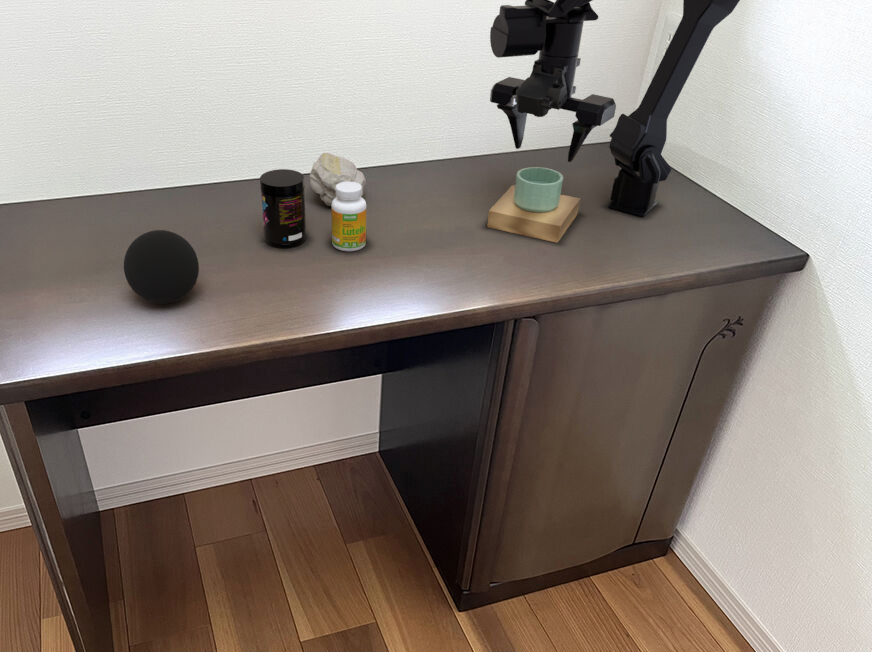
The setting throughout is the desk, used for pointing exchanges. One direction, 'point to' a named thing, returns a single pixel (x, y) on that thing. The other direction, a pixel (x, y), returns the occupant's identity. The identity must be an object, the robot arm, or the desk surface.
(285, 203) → the supplement container
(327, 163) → the fossil replica
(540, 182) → the bowl
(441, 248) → the desk surface
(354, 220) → the supplement bottle
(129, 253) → the decorative ball
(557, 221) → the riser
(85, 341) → the desk surface
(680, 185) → the desk surface
